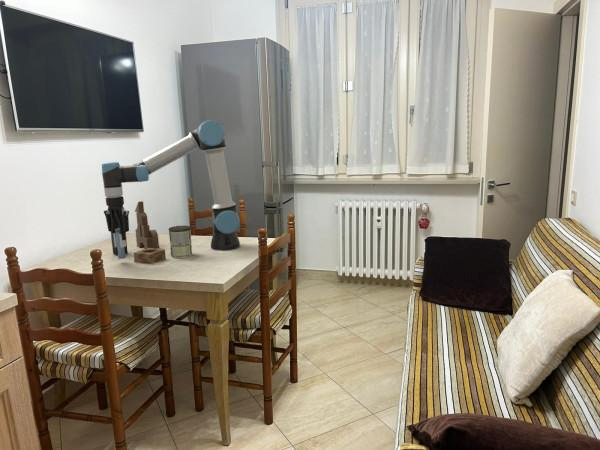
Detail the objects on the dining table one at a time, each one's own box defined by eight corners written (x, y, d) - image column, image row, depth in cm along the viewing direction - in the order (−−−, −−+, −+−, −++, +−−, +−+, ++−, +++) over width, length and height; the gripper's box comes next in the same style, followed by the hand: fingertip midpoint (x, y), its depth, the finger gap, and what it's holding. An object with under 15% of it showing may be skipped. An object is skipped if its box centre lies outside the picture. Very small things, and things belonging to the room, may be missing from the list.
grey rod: (127, 257, 202) (123, 228, 200) (122, 259, 200) (118, 229, 197) (122, 257, 204) (118, 228, 201) (117, 258, 201) (113, 229, 198)
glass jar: (167, 255, 212) (164, 227, 210) (185, 251, 220) (183, 224, 217) (177, 259, 205) (175, 230, 203) (196, 255, 212) (194, 227, 210)
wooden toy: (160, 248, 229) (155, 201, 224) (147, 250, 225) (143, 202, 220) (147, 243, 240) (143, 199, 235) (135, 245, 236) (130, 200, 231)
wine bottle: (122, 251, 223) (116, 194, 217) (128, 253, 219) (122, 194, 214) (112, 254, 219) (105, 195, 213) (118, 255, 215) (111, 196, 210)
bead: (165, 258, 208) (164, 249, 207) (151, 263, 199) (150, 254, 198) (149, 256, 212) (148, 247, 211) (134, 262, 203) (133, 252, 202)
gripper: (133, 195, 196) (139, 245, 201) (107, 195, 203) (114, 243, 207) (121, 197, 189) (127, 249, 194) (94, 197, 196) (101, 247, 200)
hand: (120, 246), depth 201 cm, fingers closed on grey rod, 3 cm apart
